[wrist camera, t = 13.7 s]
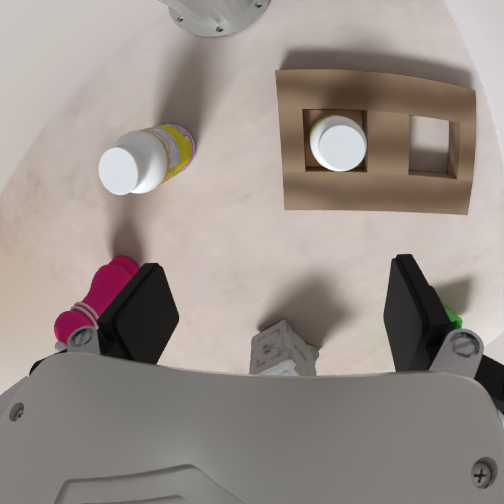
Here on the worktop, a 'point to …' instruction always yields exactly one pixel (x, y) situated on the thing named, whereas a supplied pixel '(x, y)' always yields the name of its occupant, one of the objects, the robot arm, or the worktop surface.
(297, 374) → the grey block
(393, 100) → the socket board
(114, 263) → the pepper mill
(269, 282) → the worktop surface
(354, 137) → the supplement bottle
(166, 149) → the supplement bottle
